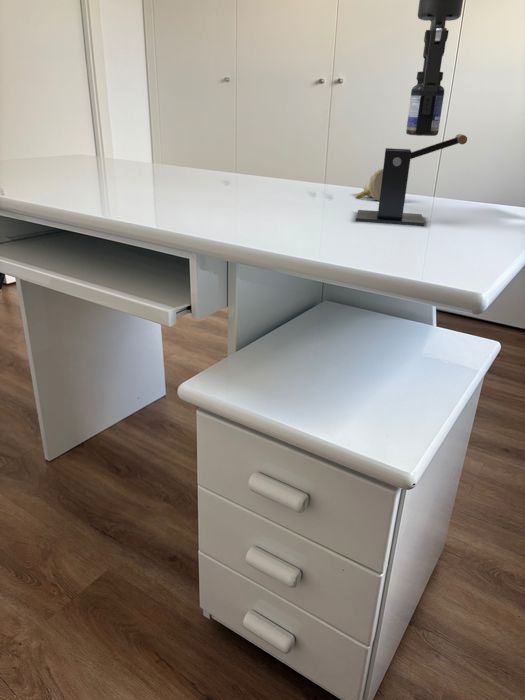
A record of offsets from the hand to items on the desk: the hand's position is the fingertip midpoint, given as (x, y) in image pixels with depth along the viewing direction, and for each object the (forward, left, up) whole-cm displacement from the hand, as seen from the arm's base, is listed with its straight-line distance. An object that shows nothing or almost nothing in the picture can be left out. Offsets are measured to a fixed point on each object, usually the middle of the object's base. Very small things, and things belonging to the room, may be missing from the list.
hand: (421, 133), depth 105 cm
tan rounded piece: (+7, -14, -15) cm, 22 cm away
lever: (-1, +13, -4) cm, 14 cm away
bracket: (+4, +13, -15) cm, 21 cm away
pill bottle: (0, 0, -1) cm, 1 cm away
